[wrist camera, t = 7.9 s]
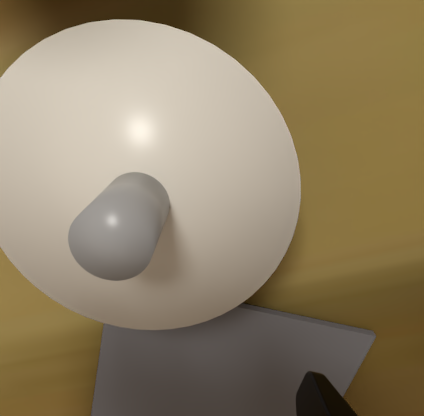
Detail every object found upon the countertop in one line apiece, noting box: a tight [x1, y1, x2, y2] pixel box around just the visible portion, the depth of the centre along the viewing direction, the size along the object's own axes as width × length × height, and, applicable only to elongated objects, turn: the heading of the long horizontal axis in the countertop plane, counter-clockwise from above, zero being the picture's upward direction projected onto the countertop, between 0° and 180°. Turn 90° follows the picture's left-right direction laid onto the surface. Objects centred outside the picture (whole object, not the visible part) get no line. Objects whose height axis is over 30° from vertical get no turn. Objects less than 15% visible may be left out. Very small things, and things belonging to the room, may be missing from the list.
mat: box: [91, 303, 376, 416], centre depth 25 cm, size 18×18×1 cm
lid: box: [0, 19, 301, 330], centre depth 12 cm, size 13×13×4 cm
